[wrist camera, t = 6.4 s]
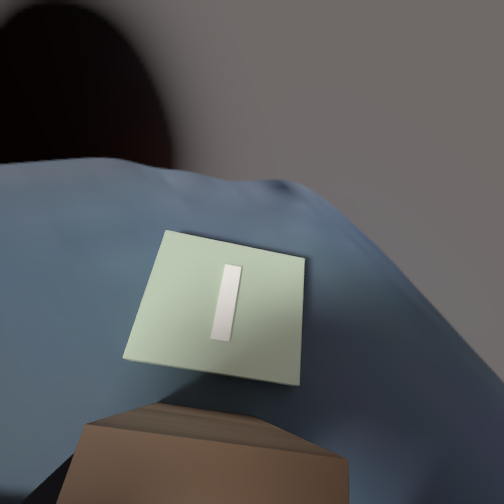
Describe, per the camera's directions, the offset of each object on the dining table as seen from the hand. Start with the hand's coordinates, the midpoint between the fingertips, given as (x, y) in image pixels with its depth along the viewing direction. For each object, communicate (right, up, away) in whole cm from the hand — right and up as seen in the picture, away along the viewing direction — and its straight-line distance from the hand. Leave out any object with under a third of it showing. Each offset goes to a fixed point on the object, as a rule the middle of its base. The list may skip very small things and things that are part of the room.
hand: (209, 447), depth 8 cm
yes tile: (0, +2, +9) cm, 9 cm away
